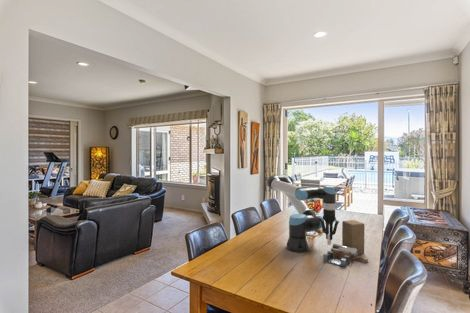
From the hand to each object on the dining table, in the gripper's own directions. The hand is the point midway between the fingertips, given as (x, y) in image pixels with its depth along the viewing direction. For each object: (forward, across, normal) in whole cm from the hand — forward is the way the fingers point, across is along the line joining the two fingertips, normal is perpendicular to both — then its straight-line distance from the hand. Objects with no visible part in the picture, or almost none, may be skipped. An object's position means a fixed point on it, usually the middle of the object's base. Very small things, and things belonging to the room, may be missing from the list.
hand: (329, 244), depth 177 cm
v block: (+6, +9, -12) cm, 16 cm away
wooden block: (+6, +11, +13) cm, 18 cm away
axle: (+4, +10, 0) cm, 11 cm away
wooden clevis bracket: (+6, +13, 0) cm, 15 cm away
